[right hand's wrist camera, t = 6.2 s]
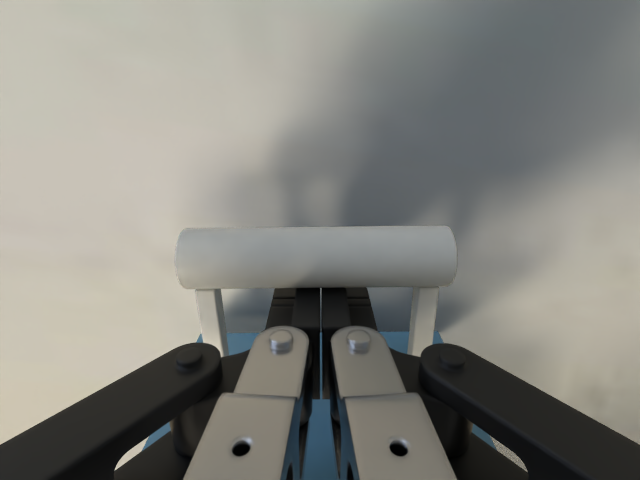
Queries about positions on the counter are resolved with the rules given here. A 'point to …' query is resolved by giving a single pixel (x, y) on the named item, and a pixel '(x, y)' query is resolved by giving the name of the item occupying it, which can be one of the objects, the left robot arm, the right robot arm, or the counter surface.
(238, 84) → the counter surface
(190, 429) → the right robot arm
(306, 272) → the drawer
